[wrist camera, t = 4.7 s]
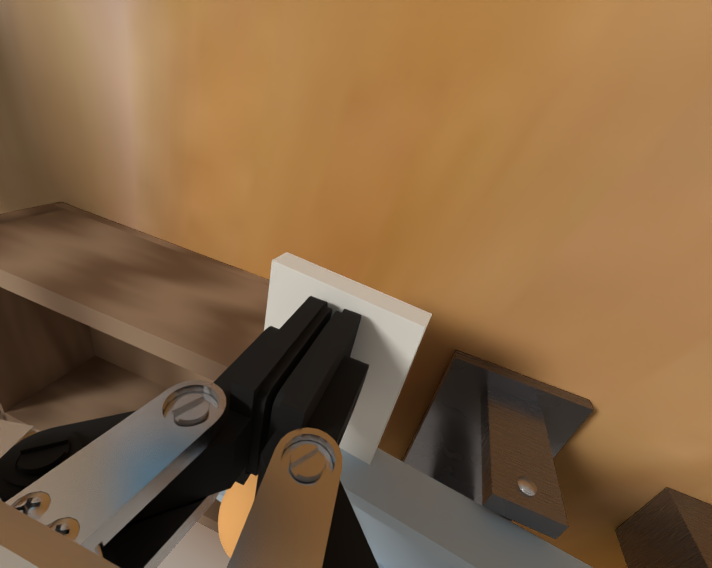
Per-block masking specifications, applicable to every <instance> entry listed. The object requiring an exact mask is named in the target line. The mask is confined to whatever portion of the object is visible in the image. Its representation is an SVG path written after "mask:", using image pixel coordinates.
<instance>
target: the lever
mask: <svg viewBox="0 0 712 568" xmlns="http://www.w3.org/2000/svg"><path fill="white" fill-rule="evenodd" d="M310 296H313V297H315V298H318V299H321V300H324V301H326V302H327V303H328V307H329V308H331V309H332V314H331V317H332V316H333V314H334V313H335V312H336V311H339V312H342V311H343V310H344V309H348V310H350V311H353V312H356V313H358V314H361V315H362V316H361V321H360V324H359V328H358V331H357V335H356V338H355V342H354V345H353V348H352V352H351V355H350V357H351V358H353V359H356V360H359V361H361V362H364V363H366V364H369V369H368V372H367V375H366V378H365V381H364V384H363V387H362V390H361V392H360V395H359V398H358V400H357V403H356V406H355V408H354V411H353V413H352V416H351V418H350V421H349V423H348V425H347V428H346V430H345V433H344V435H343V438H342V440H341V443H340V445H339V447H340V450H341V454H342V457H343V460H342V471H341V476H340V481H341V483H342V485H343V487H344V490H345V492H346V494H347V496H348V499H349V501H350V503H351V505H352V508H353V510H354V512H355V514H356V517H357V519H358V521H359V524H360V526H361V528H362V530H363V533H364V535H365V537H366V539H367V542H368V544H369V546H370V548H371V551H372V553H373V555H374V557H375V560H376V562H377V564H378V566H379V568H593V567H591V566H590V565H588V564H586V563H584V562H582V561H581V560H579V559H577V558H575V557H573V556H572V555H570V554H568V553H566V552H564V551H563V550H561V549H559V548H557V547H555V546H554V545H552V544H550V543H548V542H546V541H545V540H543V539H541V538H539V537H537V536H536V535H534V534H532V533H530V532H528V531H527V530H525V529H523V528H521V527H519V526H518V525H516V524H514V523H512V522H510V521H509V520H507V519H505V518H503V517H501V516H500V515H498V514H496V513H494V512H492V511H491V510H489V509H487V508H484V507H482V505H480V504H478V503H476V502H474V501H473V500H471V499H469V498H467V497H465V496H464V495H462V494H460V493H458V492H456V491H455V490H453V489H451V488H449V487H447V486H446V485H444V484H442V483H440V482H438V481H437V480H435V479H433V478H431V477H429V476H428V475H426V474H424V473H422V472H420V471H419V470H417V469H415V468H413V467H411V466H410V465H408V464H406V463H404V462H402V461H401V460H399V459H397V458H395V457H393V456H392V455H390V454H388V453H386V452H384V451H383V450H381V449H379V448H378V445H379V443H380V440H381V438H382V435H383V433H384V431H385V428H386V426H387V423H388V421H389V418H390V416H391V414H392V411H393V409H394V406H395V404H396V401H397V399H398V396H399V394H400V392H401V389H402V387H403V384H404V382H405V379H406V377H407V375H408V372H409V370H410V367H411V365H412V362H413V360H414V357H415V355H416V353H417V350H418V348H419V345H420V343H421V340H422V338H423V336H424V333H425V331H426V328H427V326H428V323H429V321H430V318H431V316H432V314H431V313H429V312H427V311H424V310H422V309H419V308H417V307H415V306H412V305H410V304H408V303H405V302H403V301H401V300H398V299H396V298H394V297H391V296H389V295H387V294H384V293H382V292H380V291H377V290H375V289H372V288H370V287H368V286H365V285H363V284H361V283H358V282H356V281H354V280H351V279H349V278H347V277H344V276H342V275H340V274H337V273H335V272H333V271H330V270H328V269H325V268H323V267H321V266H318V265H316V264H314V263H311V262H309V261H307V260H304V259H302V258H300V257H297V256H295V255H293V254H290V253H288V252H286V253H284V254H282V255H281V256H279V257H277V258H275V259H273V260H272V265H271V274H270V282H269V291H268V300H267V309H266V317H265V326H264V330H265V329H267V328H268V327H270V326H273V327H275V328H278V329H280V328H281V327H282V326H283V325H284V323H285V322H286V321H287V320H288V319H289V318H290V317H291V316H292V315H293V314H294V313H295V311H296V310H297V309H298V308H299V307H300V306H301V305H302V304H303V303H304V302H305V301H306V300H307V298H308V297H310ZM225 492H226V490H224V491H221V492H219V495H218V496H217V498H216V499H217V500H219V501H220V502H222V499H223V496H224V494H225Z"/></svg>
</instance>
